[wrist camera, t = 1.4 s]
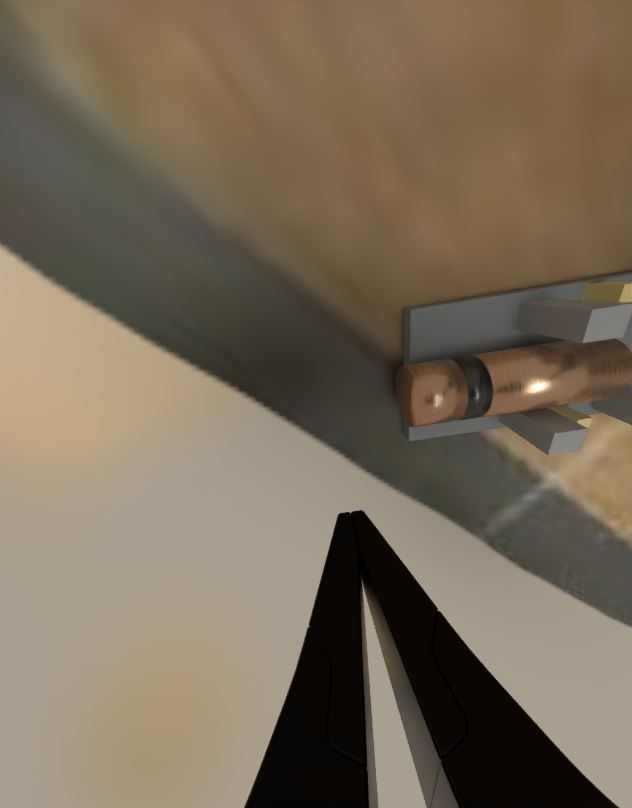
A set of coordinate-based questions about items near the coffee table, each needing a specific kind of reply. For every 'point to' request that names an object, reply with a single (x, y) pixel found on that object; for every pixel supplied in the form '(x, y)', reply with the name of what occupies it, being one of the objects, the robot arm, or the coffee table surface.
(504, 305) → the board
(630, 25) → the coffee table surface
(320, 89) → the coffee table surface
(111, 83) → the coffee table surface
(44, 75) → the coffee table surface
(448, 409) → the copper tube
